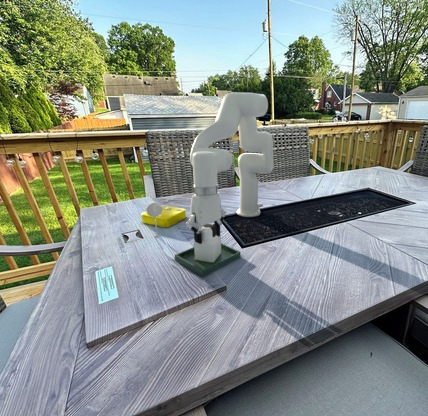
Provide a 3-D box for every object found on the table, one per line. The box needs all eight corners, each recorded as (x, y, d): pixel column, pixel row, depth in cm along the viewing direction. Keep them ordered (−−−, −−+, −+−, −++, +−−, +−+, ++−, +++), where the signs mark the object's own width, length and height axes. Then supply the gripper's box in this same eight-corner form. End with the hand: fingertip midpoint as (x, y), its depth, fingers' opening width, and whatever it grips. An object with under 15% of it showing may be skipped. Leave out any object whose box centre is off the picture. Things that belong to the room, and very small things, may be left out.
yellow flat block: (140, 222, 121) (139, 212, 119) (163, 212, 134) (162, 203, 132) (166, 228, 116) (165, 218, 114) (187, 217, 129) (187, 208, 128)
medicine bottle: (203, 250, 98) (202, 221, 94) (221, 253, 97) (221, 223, 92) (194, 260, 91) (192, 228, 87) (213, 263, 90) (212, 231, 86)
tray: (213, 243, 105) (213, 238, 104) (240, 256, 96) (240, 251, 95) (175, 260, 92) (174, 254, 91) (202, 277, 83) (202, 271, 82)
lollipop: (168, 235, 110) (165, 201, 105) (158, 241, 104) (154, 205, 99) (156, 232, 112) (152, 199, 107) (145, 238, 106) (141, 203, 101)
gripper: (218, 183, 94) (219, 228, 100) (175, 192, 81) (179, 243, 87) (233, 187, 90) (233, 234, 96) (190, 198, 77) (193, 251, 83)
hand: (207, 238), depth 91 cm, fingers closed on medicine bottle, 7 cm apart
